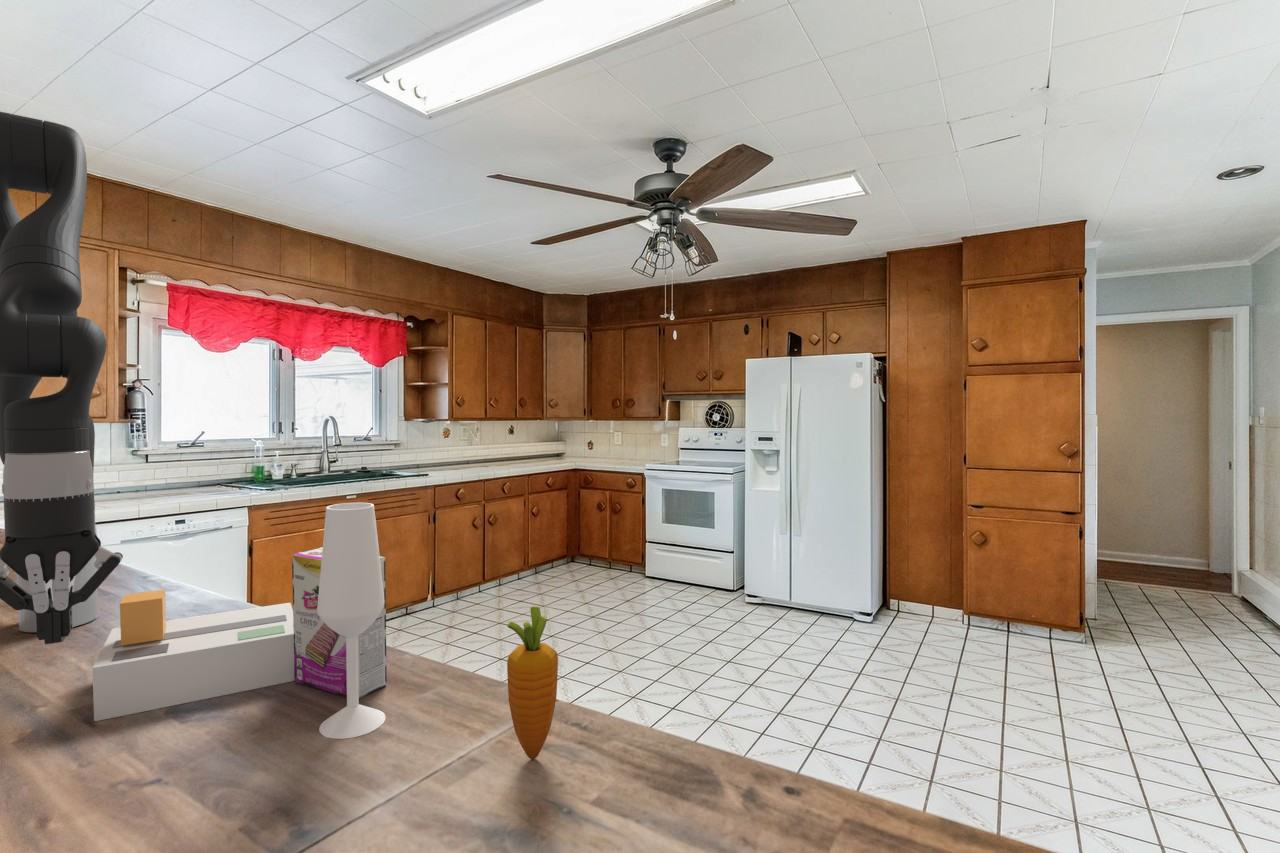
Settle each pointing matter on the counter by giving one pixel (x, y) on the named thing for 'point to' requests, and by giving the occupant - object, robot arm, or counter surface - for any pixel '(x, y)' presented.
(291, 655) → the switch box
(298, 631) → the candy bar box
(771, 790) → the counter surface
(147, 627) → the block
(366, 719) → the champagne flute
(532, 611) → the carrot
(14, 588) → the robot arm
